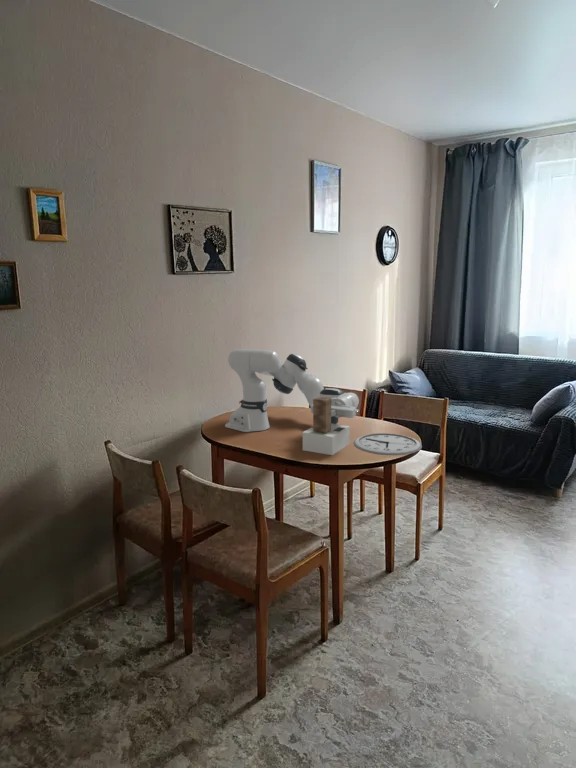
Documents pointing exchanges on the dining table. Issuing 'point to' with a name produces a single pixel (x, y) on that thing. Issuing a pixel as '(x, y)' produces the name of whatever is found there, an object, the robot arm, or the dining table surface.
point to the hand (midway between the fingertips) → (325, 414)
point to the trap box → (326, 440)
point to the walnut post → (322, 414)
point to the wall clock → (387, 444)
